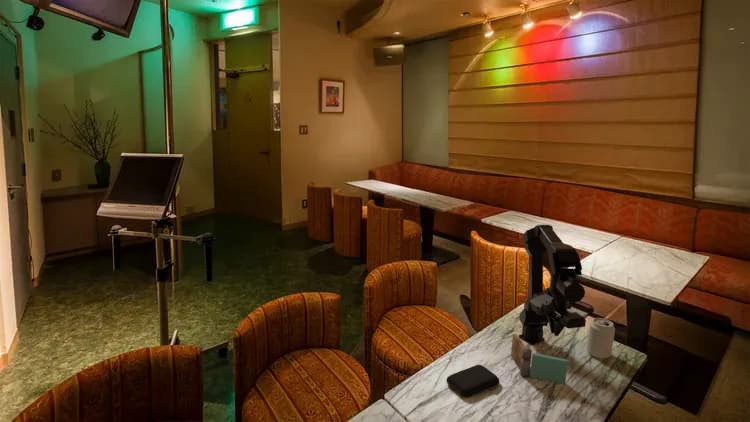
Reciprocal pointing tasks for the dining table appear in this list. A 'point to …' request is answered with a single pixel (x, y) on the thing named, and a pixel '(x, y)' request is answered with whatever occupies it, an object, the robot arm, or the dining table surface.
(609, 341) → the can
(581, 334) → the dining table surface
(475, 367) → the carrying case or bag
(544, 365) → the hinge leaf
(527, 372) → the fixed leaf
